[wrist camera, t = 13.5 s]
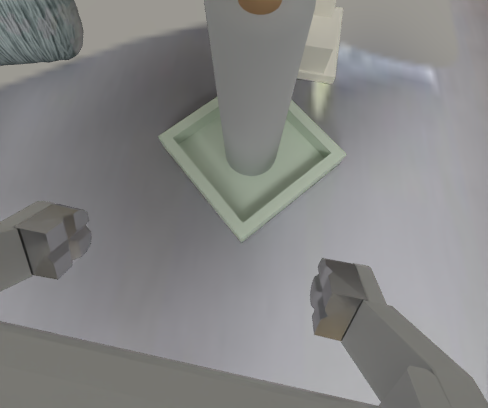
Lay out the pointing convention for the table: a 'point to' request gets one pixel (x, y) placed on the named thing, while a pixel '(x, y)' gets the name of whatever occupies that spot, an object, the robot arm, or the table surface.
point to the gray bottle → (256, 73)
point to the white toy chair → (322, 43)
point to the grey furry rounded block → (39, 31)
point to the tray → (250, 187)
